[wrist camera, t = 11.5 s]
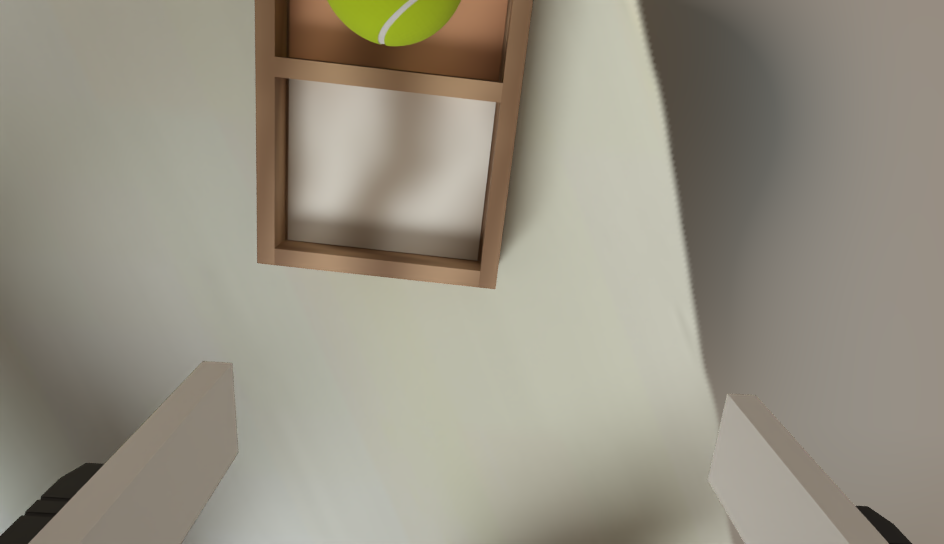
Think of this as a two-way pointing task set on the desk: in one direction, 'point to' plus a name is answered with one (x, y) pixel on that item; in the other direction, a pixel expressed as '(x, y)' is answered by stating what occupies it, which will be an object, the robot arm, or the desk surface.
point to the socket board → (387, 142)
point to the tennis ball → (394, 18)
